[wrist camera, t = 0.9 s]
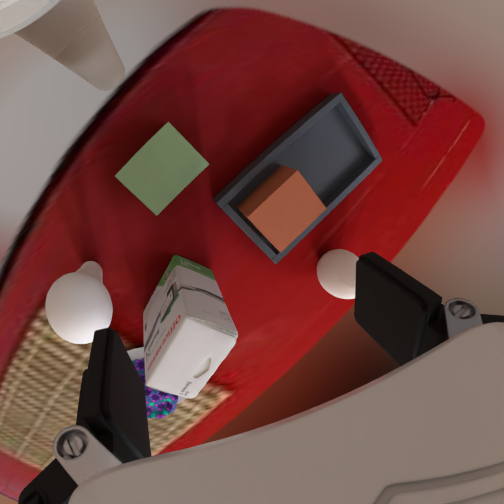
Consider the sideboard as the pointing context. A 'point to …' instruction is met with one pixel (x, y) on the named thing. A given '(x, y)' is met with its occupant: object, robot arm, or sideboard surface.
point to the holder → (308, 164)
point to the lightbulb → (79, 304)
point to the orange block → (282, 206)
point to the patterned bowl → (154, 390)
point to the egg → (338, 273)
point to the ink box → (185, 329)
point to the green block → (161, 168)
